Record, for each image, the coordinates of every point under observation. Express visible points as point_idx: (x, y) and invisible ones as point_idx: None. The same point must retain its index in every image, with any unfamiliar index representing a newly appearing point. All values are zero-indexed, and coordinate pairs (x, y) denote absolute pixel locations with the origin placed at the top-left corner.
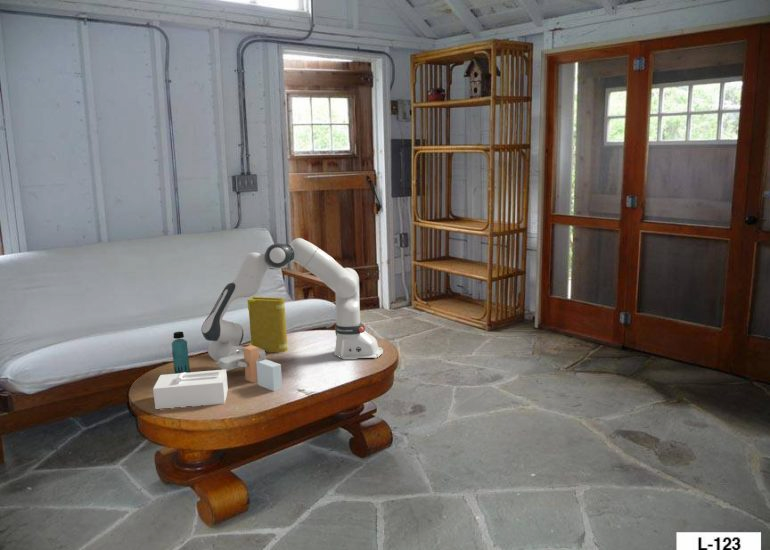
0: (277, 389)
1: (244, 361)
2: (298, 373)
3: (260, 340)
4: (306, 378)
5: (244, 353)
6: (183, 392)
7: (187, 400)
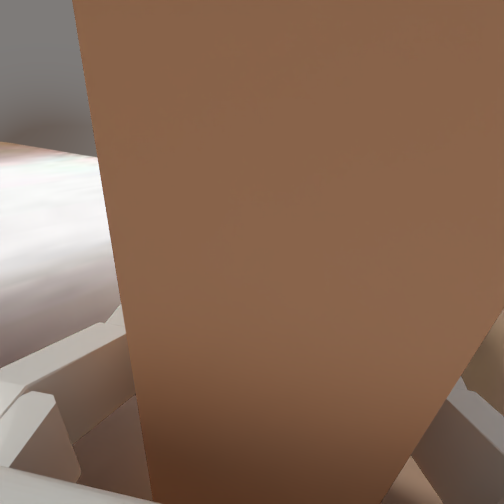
0: None
1: (397, 468)
2: (6, 277)
3: None
4: (97, 229)
5: (492, 252)
6: None
7: None
